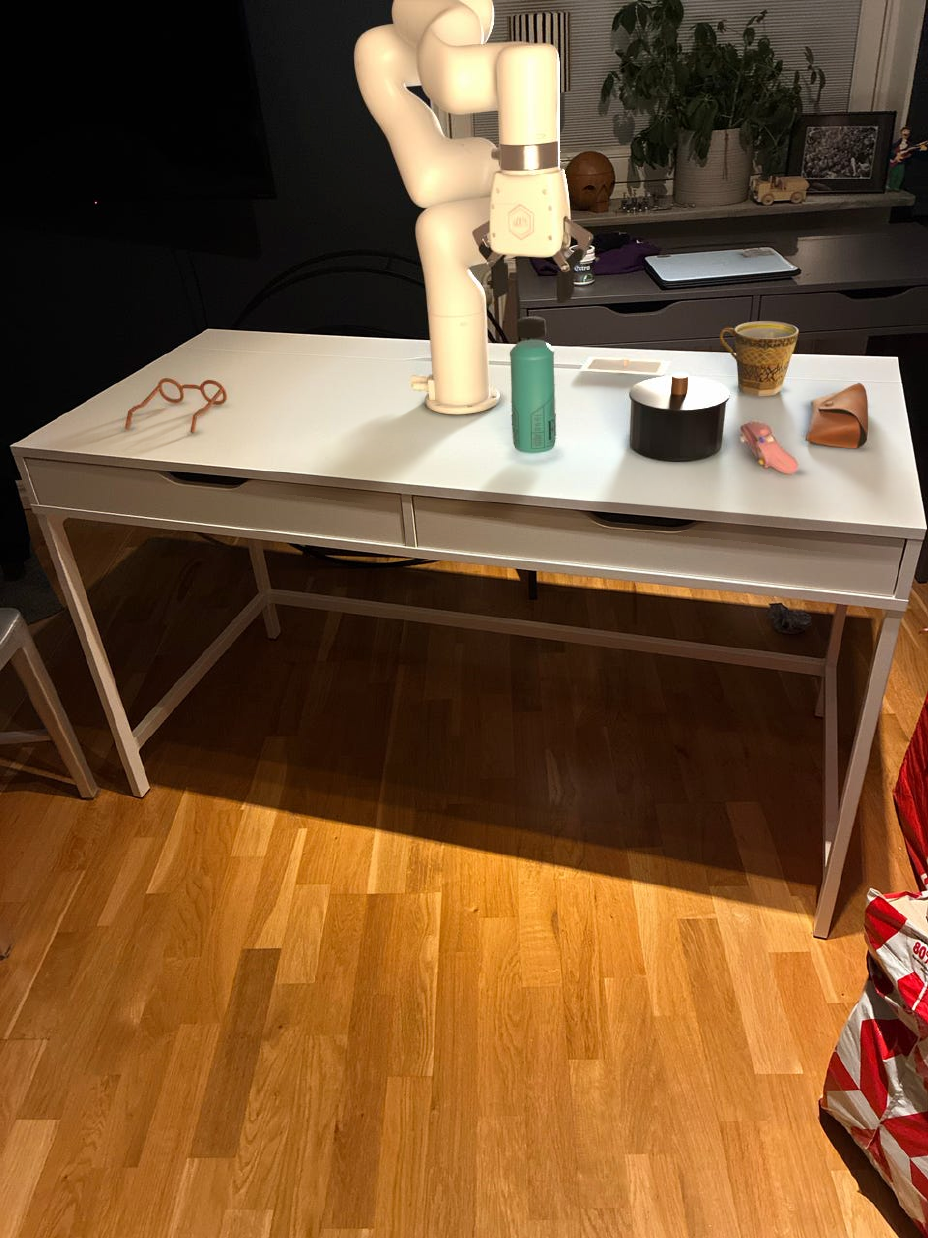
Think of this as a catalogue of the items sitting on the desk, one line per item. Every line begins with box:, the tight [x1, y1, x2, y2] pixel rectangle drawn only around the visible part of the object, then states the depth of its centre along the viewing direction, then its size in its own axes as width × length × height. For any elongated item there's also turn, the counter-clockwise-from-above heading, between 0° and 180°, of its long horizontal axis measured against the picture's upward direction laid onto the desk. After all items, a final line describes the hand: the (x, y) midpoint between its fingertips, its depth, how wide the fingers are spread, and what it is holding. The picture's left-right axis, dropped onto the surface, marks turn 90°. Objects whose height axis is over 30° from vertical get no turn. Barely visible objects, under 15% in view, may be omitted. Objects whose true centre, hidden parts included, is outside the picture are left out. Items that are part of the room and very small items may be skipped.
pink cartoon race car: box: [739, 418, 799, 475], centre depth 131 cm, size 10×5×7 cm, turn 5°
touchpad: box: [579, 356, 672, 376], centre depth 168 cm, size 8×15×2 cm, turn 70°
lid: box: [628, 372, 731, 413], centre depth 135 cm, size 14×14×4 cm
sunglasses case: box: [805, 382, 869, 450], centre depth 142 cm, size 18×7×7 cm
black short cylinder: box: [629, 400, 727, 463], centre depth 138 cm, size 13×13×8 cm
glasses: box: [124, 377, 228, 434], centre depth 160 cm, size 13×13×5 cm
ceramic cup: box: [719, 320, 800, 397], centre depth 155 cm, size 13×10×10 cm
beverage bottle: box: [509, 316, 557, 454], centre depth 134 cm, size 6×7×20 cm
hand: (532, 297), depth 127 cm, fingers open, 9 cm apart
